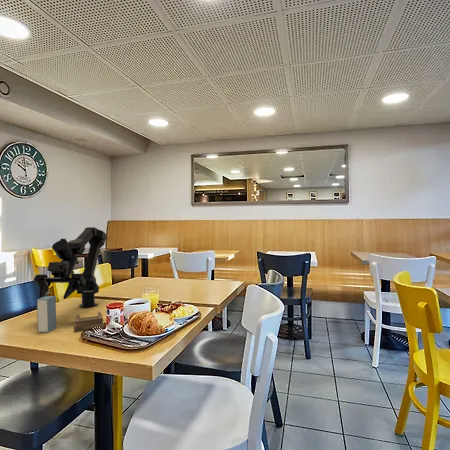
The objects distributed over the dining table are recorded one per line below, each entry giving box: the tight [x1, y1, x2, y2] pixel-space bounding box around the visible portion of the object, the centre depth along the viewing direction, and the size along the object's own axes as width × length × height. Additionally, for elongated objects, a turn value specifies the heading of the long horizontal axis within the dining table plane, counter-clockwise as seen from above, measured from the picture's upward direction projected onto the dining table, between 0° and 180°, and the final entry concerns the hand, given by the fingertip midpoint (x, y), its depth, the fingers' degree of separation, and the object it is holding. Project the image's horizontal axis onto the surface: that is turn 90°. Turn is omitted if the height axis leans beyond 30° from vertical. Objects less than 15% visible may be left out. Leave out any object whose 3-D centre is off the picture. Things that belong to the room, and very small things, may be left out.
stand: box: [73, 311, 105, 333], centre depth 119 cm, size 12×10×4 cm
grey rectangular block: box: [36, 295, 57, 334], centre depth 115 cm, size 5×4×12 cm
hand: (52, 298), depth 118 cm, fingers open, 9 cm apart
